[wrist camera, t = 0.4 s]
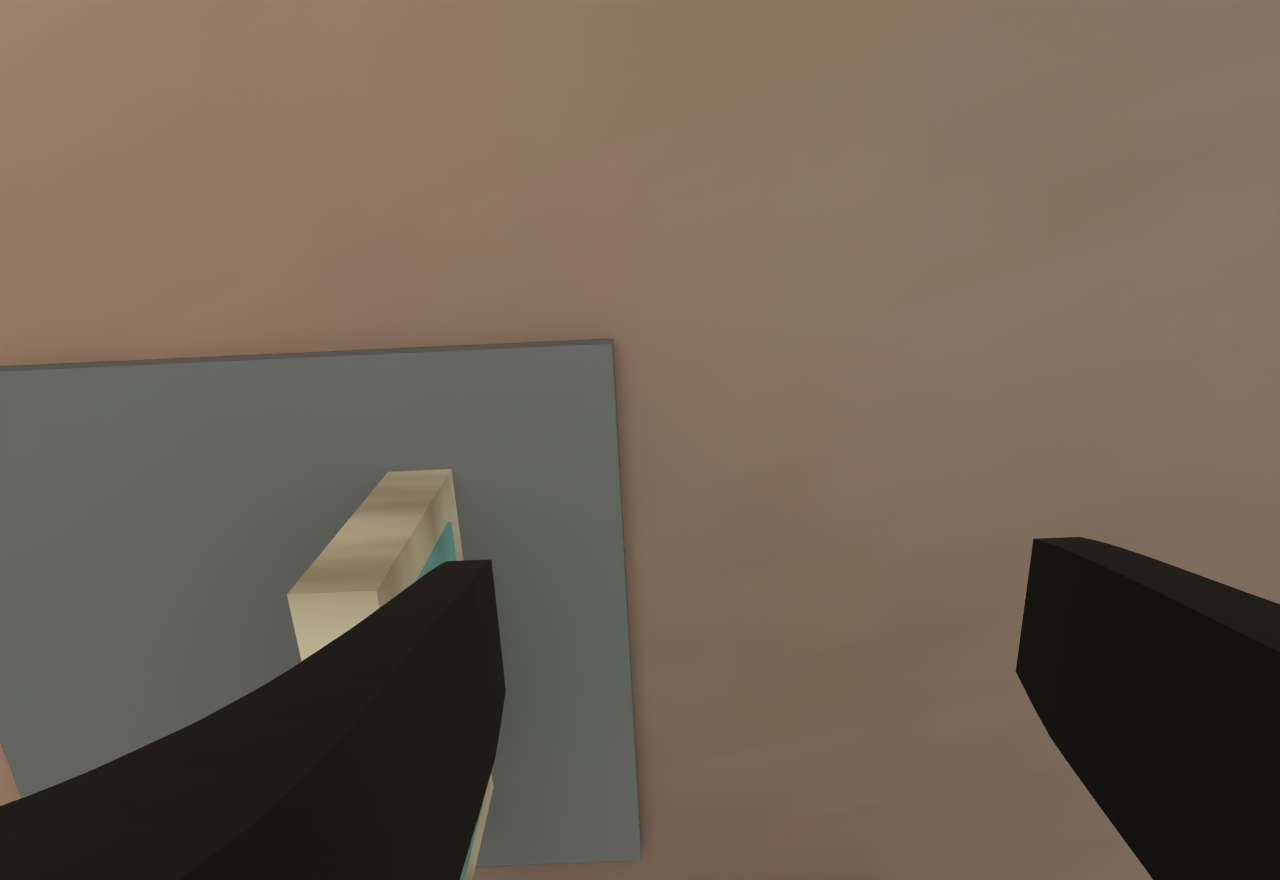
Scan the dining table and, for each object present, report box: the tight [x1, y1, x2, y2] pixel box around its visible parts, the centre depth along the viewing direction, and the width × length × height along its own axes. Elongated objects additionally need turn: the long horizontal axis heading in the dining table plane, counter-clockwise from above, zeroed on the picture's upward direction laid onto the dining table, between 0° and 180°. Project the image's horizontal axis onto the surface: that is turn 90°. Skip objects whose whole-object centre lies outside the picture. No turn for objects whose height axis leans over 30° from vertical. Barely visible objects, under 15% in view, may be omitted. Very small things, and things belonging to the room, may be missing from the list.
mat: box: [0, 339, 641, 867], centre depth 21 cm, size 16×18×1 cm
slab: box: [287, 469, 493, 880], centre depth 18 cm, size 10×2×6 cm, turn 3°
